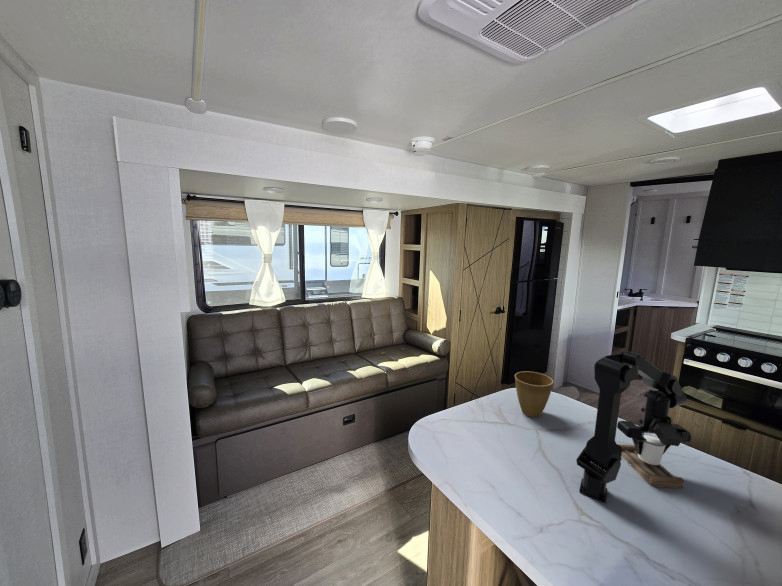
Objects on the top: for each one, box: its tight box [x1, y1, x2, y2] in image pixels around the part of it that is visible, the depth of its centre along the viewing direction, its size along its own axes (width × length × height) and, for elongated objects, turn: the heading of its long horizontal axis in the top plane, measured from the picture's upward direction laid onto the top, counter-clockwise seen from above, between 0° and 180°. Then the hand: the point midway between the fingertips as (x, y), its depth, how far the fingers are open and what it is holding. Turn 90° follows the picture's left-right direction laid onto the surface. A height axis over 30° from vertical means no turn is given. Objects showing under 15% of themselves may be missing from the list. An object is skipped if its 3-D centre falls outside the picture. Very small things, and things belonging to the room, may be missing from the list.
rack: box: [618, 443, 685, 489], centre depth 102 cm, size 16×9×3 cm, turn 175°
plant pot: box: [514, 370, 554, 418], centre depth 134 cm, size 15×15×16 cm
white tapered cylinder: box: [638, 433, 666, 465], centre depth 101 cm, size 7×7×7 cm
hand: (649, 454), depth 101 cm, fingers closed on white tapered cylinder, 6 cm apart
